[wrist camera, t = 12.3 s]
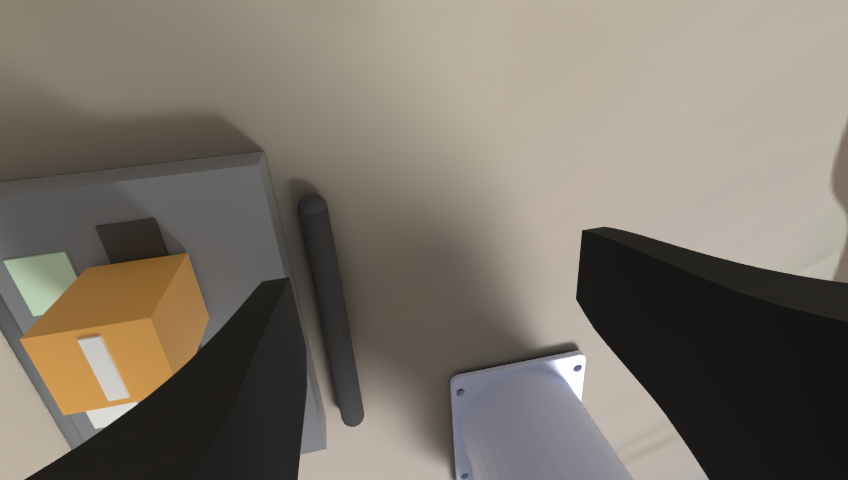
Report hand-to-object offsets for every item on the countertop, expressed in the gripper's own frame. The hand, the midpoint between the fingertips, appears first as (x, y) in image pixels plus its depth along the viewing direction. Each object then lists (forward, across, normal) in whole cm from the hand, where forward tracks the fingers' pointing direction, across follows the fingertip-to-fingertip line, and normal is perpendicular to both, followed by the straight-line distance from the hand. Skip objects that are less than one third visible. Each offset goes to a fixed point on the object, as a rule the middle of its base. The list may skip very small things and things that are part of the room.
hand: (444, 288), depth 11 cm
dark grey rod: (+10, +4, +7) cm, 13 cm away
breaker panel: (+10, +10, +6) cm, 15 cm away
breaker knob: (+8, +10, +3) cm, 13 cm away
